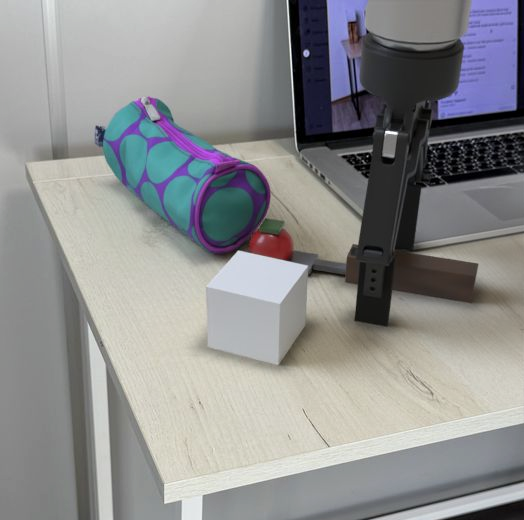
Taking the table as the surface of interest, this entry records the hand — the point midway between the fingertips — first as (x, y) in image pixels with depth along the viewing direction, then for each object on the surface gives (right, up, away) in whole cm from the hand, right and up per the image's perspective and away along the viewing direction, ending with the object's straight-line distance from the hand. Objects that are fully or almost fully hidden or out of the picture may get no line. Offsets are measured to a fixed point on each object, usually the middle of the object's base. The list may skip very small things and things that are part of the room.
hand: (385, 283), depth 78 cm
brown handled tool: (-2, 0, +1) cm, 3 cm away
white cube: (-11, -5, -7) cm, 14 cm away
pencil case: (-19, +8, +11) cm, 23 cm away
